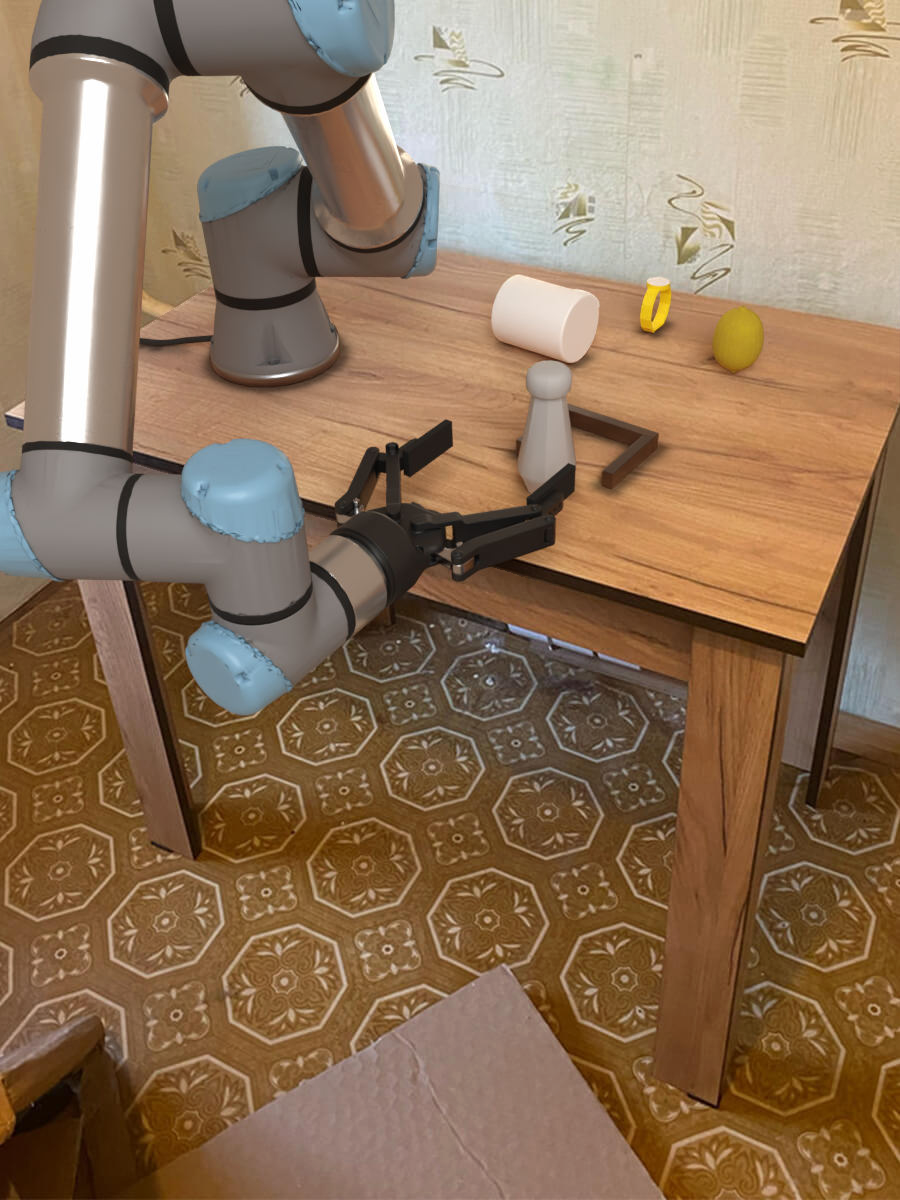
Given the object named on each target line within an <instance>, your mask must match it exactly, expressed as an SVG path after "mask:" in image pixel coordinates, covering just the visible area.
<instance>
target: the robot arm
mask: <svg viewBox="0 0 900 1200" xmlns="http://www.w3.org/2000/svg"><path fill="white" fill-rule="evenodd" d="M395 6H396V5H395V0H41V1H40V4H39V8H38V11H37V16H36V18H35V24H34V27H33V31H32V35H31V43H30V52H29V67H28V85H29V87H30V89H31V91H32V92H33V94H34V95H35V96H36V98H37V99H39V101H40V102H41V103H42V109H41V126H40V127H41V128H40V142H39V143H40V145H39V160H38V161H39V162H38V178H37V193H36V195H37V196H36V211H35V226H34V227H35V229H34V230H35V231H34V243H33V246H34V247H33V261H32V277H31V293H30V294H31V296H30V311H29V312H30V313H29V314H30V315H29V327H28V328H29V329H28V347H27V361H26V363H27V364H26V376H25V377H26V378H25V379H26V381H25V394H24V395H25V396H24V412H23V413H24V414H23V432H22V445H21V455H20V462H19V469H16V468H12V469H11V470H4V471H0V572H2V573H4V574H5V575H6V576H11V577H21V578H22V577H23V578H35V579H48V580H52V581H54V582H65V581H66V580H76V581H77V580H81V581H82V580H83V581H84V580H85V581H127V582H128V581H130V582H132V581H133V582H146V583H147V582H148V583H170V584H171V583H173V584H174V583H175V584H200V585H204V587H205V590H206V596H207V600H208V604H209V608H210V612H211V618H210V620H208V621H205V622H202V623H201V625H200V627H199V628H198V629H197V630H195V632H193V633H192V634H191V635H190V636H189V637H188V640H187V645H186V647H185V650H184V654H185V655H184V656H185V660H186V664H187V667H188V669H189V671H190V673H191V675H192V677H193V679H194V681H195V682H196V684H197V685H198V686H199V688H200V689H201V690H202V691H203V693H204V694H205V695H206V696H207V697H208V698H209V699H210V700H211V701H213V702H214V703H215V704H216V705H218V706H219V707H221V708H223V709H224V710H226V711H227V712H229V713H231V714H234V715H237V716H245V717H246V716H252V715H254V714H257V713H258V712H261V711H262V710H263V709H265V708H266V707H267V706H269V705H271V704H272V703H273V702H275V701H276V700H278V699H279V698H280V697H282V696H283V695H284V694H286V693H290V692H291V691H292V690H293V687H294V686H295V685H297V684H298V683H299V682H300V681H301V680H302V679H304V678H305V677H306V676H307V675H309V674H310V673H311V672H312V671H313V670H315V668H317V667H318V666H319V665H320V664H322V663H323V662H324V661H325V660H326V659H327V658H328V657H330V656H331V655H332V654H333V653H334V652H335V651H337V650H338V649H339V648H340V647H342V646H343V645H344V644H345V643H346V642H347V641H348V640H349V639H351V638H352V637H354V636H355V635H356V634H357V633H359V632H360V631H361V630H362V629H363V628H364V627H366V626H367V625H368V624H370V622H372V621H373V620H374V619H375V618H377V617H378V616H379V615H381V613H382V612H383V611H384V610H385V608H388V607H390V606H392V605H393V604H394V603H395V602H396V601H398V600H399V599H400V598H401V597H402V596H403V595H405V594H406V593H408V591H410V590H411V589H412V588H413V587H414V586H415V585H416V583H417V582H418V581H419V579H420V578H421V576H422V575H423V573H424V572H425V570H428V569H429V568H432V567H436V566H438V565H441V566H442V567H445V568H446V569H448V570H449V571H451V580H453V581H454V582H458V583H460V582H465V581H466V580H467V579H468V578H470V577H472V576H473V575H475V574H476V573H477V572H479V571H482V570H485V569H488V568H490V567H493V566H497V565H499V564H502V563H505V562H508V561H512V560H514V559H517V558H520V557H523V556H526V555H529V554H533V553H535V552H538V551H541V550H544V549H547V548H550V547H552V546H555V544H556V534H557V518H556V516H557V515H559V513H561V512H562V511H563V508H564V502H565V500H566V499H568V498H569V497H570V496H571V495H572V494H573V493H574V492H576V491H575V490H576V471H577V465H576V466H575V465H572V464H570V463H568V464H567V465H565V466H564V467H563V468H562V469H561V470H559V471H558V472H557V473H556V474H555V475H553V476H552V477H551V478H550V479H549V480H547V481H546V482H545V483H544V484H543V485H541V486H540V487H539V488H538V489H537V490H535V491H534V492H533V493H530V495H528V496H527V497H526V504H525V505H519V506H511V507H507V508H506V507H505V508H500V509H494V510H487V511H480V512H475V513H469V514H461V513H460V512H459V511H450V512H443V513H442V512H440V511H437V510H434V509H430V508H426V507H424V506H423V505H421V504H420V503H417V502H415V501H411V502H403V499H402V472H403V476H405V477H407V478H412V477H413V476H414V475H416V474H417V473H418V472H420V471H421V470H423V469H425V467H427V466H428V465H430V464H431V463H432V462H434V461H435V460H437V459H438V458H439V457H440V456H442V455H443V454H445V453H446V452H447V451H449V450H450V449H451V448H453V447H454V437H453V436H454V435H453V433H454V432H453V421H452V420H449V419H446V418H445V419H443V420H442V421H441V422H440V423H438V424H436V425H435V426H434V427H432V428H431V429H430V430H427V431H426V432H425V433H423V434H422V435H421V436H419V437H418V438H417V437H415V438H412V439H409V440H408V441H407V442H405V443H404V444H402V445H401V446H399V444H398V442H394V441H391V442H387V443H385V445H384V446H385V452H382V451H380V448H379V447H377V446H369V447H368V448H366V450H365V452H364V454H363V455H362V458H361V461H360V462H359V465H358V467H357V468H356V471H355V474H354V476H353V478H352V480H351V482H350V484H349V487H348V489H347V490H346V492H345V493H344V494H343V495H342V496H340V498H338V499H337V500H335V502H334V512H335V520H336V528H335V529H334V530H333V531H331V532H330V534H329V535H325V536H324V537H322V538H321V539H320V540H319V541H317V542H316V543H314V544H313V545H312V546H310V547H308V539H307V531H306V525H305V514H306V512H305V508H304V507H303V500H302V499H301V496H300V493H299V489H298V488H299V487H298V484H297V481H296V480H297V479H296V476H295V471H294V467H293V464H292V462H291V460H290V459H289V457H288V456H287V455H286V454H285V452H284V451H283V450H281V448H278V447H277V446H276V445H273V444H272V443H269V442H266V441H263V440H259V439H254V438H233V439H231V440H230V441H228V442H226V443H219V442H214V443H212V444H208V445H206V446H204V447H202V448H201V449H199V450H197V451H196V452H195V453H194V454H192V455H191V456H190V457H189V458H188V459H187V461H186V462H185V463H184V466H183V468H182V471H181V474H176V473H175V474H170V473H169V474H167V473H138V472H137V473H134V472H133V471H134V455H133V454H134V439H135V438H134V436H135V422H136V405H137V404H136V403H137V388H138V373H139V355H140V345H142V346H143V345H144V346H151V347H170V346H171V347H172V346H180V345H185V344H186V345H187V344H199V343H209V355H210V360H211V366H212V368H213V370H214V372H215V373H216V374H217V375H218V376H219V377H221V378H223V379H224V380H227V381H229V382H231V383H234V384H239V385H243V386H247V387H248V386H249V387H262V388H263V387H264V388H265V387H278V386H286V385H291V384H296V383H300V382H303V381H306V380H309V379H312V378H314V377H316V376H318V375H320V374H322V373H323V372H326V371H327V370H328V369H329V368H331V367H332V366H333V365H334V364H335V362H337V360H338V358H339V356H340V343H339V339H341V338H340V337H341V336H340V334H339V331H338V329H337V326H336V324H335V322H334V321H331V318H330V315H329V313H328V311H327V308H326V306H325V304H324V302H323V300H322V298H321V296H320V293H319V291H318V288H317V281H316V278H400V279H401V280H408V279H410V278H419V277H421V278H423V277H427V276H429V275H431V274H432V273H433V272H434V271H435V269H436V267H437V257H438V237H439V236H438V235H439V234H438V233H439V218H440V217H439V215H440V214H439V213H440V191H441V189H440V187H441V186H440V185H441V180H440V178H441V171H440V170H439V168H438V167H437V166H436V165H432V164H426V163H424V162H417V164H416V162H415V160H414V159H413V158H412V156H410V154H409V153H408V152H407V151H406V150H405V149H404V148H402V147H401V146H400V145H398V144H396V139H395V137H394V134H393V131H392V127H391V124H390V121H389V118H388V114H387V111H386V108H385V104H384V102H383V98H382V95H381V91H380V89H379V86H378V82H377V79H376V75H375V73H378V72H379V71H381V69H383V67H384V66H385V65H386V64H387V63H388V61H389V60H390V57H391V55H392V52H393V51H392V50H393V47H394V39H395V31H396V11H395V9H396V8H395ZM183 76H184V77H240V78H241V79H242V81H243V83H244V85H245V86H246V88H247V89H248V91H249V92H250V93H251V95H252V96H254V97H255V99H257V100H258V102H260V103H262V104H263V105H264V106H266V107H267V108H270V109H271V110H273V111H275V112H277V113H280V114H281V117H282V118H283V121H284V122H285V124H286V127H287V129H288V131H289V133H290V135H291V137H292V139H293V141H294V143H295V144H296V147H297V149H298V150H297V149H296V148H294V147H290V146H289V147H286V146H283V145H272V146H262V147H255V148H252V149H248V150H243V151H240V152H236V153H233V154H230V155H228V156H225V157H223V158H220V159H219V160H217V161H215V162H213V163H212V164H210V165H209V166H208V167H206V169H204V170H203V171H202V173H200V175H199V178H198V180H197V184H196V192H197V193H196V194H197V200H198V208H199V213H198V219H199V222H201V228H202V232H203V233H202V234H203V238H204V244H205V249H206V254H207V259H208V264H209V269H210V274H211V281H212V286H213V291H214V297H215V310H214V318H213V319H214V320H213V334H209V335H195V336H185V337H184V336H183V337H178V338H177V337H176V338H170V339H153V338H145V337H141V324H142V323H141V322H142V310H143V309H142V307H143V289H144V274H145V258H146V244H147V243H146V242H147V240H146V239H147V227H148V211H149V210H148V209H149V193H150V192H149V191H150V179H151V178H150V177H151V176H150V175H151V162H152V145H153V144H152V143H153V128H154V124H155V123H157V122H159V121H160V120H161V119H162V118H164V116H165V115H166V114H167V112H168V109H169V98H170V85H171V83H172V82H173V80H175V79H176V78H178V77H183ZM304 163H305V165H304ZM575 470H576V471H575ZM381 474H385V488H386V489H385V506H381V507H377V508H371V509H367V508H368V505H369V504H370V500H371V498H372V496H373V493H374V491H375V489H376V486H377V484H378V482H379V479H380V477H381ZM447 527H451V531H452V532H451V533H452V534H451V535H452V538H451V540H447Z"/></svg>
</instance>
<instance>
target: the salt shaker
mask: <svg viewBox="0 0 900 1200" xmlns="http://www.w3.org/2000/svg"><path fill="white" fill-rule="evenodd" d="M572 383H573V372H572V370H571V369H570V367H569V366H568V365H567V364H565V363H564V362H562V361H560V360H550V359H549V360H541V361H538V362H535V363H534V364H532V365H531V366H530V367H529V368H527V370H526V375H525V388H526V391H527V392H528V394H530V396H531V397H530V401H529V406H528V409H527V414H526V419H525V424H524V429H523V434H522V435H523V438H522V442H521V447H520V452H519V455H518V457H517V463H516V469H517V473H518V474H519V475H520V477H521V479H522V480H523V482H524V485H525V487H526V489H527V491H528V493H530V494H532V493H533V492H534V491H535V490H537V489H538V488H539V487H540V486H541V485H543V484H544V483H545V482H546V481H547V480H549V479H550V478H551V477H552V476H553V475H555V474H556V473H557V472H558V471H559V470H561V469H562V468H563V467H564V466H565V465H567V464H568V463H570V464H572V465H575V466H576V467H577V457H576V450H575V443H574V438H573V431H572V426H571V424H570V417H569V411H568V404H569V403H568V398H567V395H568V394H569V393H570V392H571V391H572V385H573V384H572ZM567 403H568V404H567ZM576 471H577V469H576V470H575V472H576Z"/></svg>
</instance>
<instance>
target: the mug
mask: <svg viewBox="0 0 900 1200" xmlns="http://www.w3.org/2000/svg"><path fill="white" fill-rule="evenodd" d="M600 308H601V303H600V301H599V299H598V298H597V296H596V295H594V294H593V293H591V292H589V291H587V290H583V289H578V288H569V287H566V286H562V285H558V284H555V283H552V282H548V281H545V280H541V279H538V278H533V277H531V276H527V275H523V274H514V275H512V276H510V277H508V279H506V280H505V281H504V282H503V284H502V285H501V286H500V288H499V289H498V291H497V293H496V296H495V297H494V301H493V304H492V309H491V316H490V317H491V318H490V320H491V321H490V325H491V330H492V332H493V335H494V336H495V338H496V339H497V340H498V341H499V342H502V343H505V344H508V345H511V346H515V347H518V348H520V349H524V350H526V351H530V352H533V353H535V354H539V355H542V356H545V357H548V358H551V359H555V360H556V361H560V362H563V363H568V364H573V363H574V364H575V363H577V362H579V361H580V360H581V359H582V358H583V357H585V355H586V354H587V352H588V351H589V349H590V348H591V347H592V344H593V342H594V340H595V337H596V334H597V330H598V326H599V321H600V320H599V319H600Z"/></svg>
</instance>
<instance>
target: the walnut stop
mask: <svg viewBox="0 0 900 1200" xmlns="http://www.w3.org/2000/svg"><path fill="white" fill-rule="evenodd" d="M567 404H568V411H569V417H570V424H571V427H575V428H578V429H581V430H583V431H587V432H590V433H592V434H595V435H598V436H602V437H604V438H607V439H610V440H613V441H616V442H619V443H622V444H625V445H628V446H629V447H627V448H626V449H625V450H624V451H623V452H622V453H621V454H619V456H617V457H616V458H615V459H614V460H613V461H612V462H611V463H609V464H608V465H607V466H606V467H605V468H604V469H602V474H601V475H602V476H601V486H602V487H604V488H608V489H610V490H613V489H614V488H615V487H616V486H618V484H619V483H620V482H621V481H623V480H624V479H625V478H626V477H627V476H628V475H629V474H630V473H632V471H633V470H635V469H636V468H637V467H638V466H639V465H640V464H641V463H642V462H644V460H646V459H647V458H648V457H649V456H650V455H651V454H652V453H654V451H656V450H657V449H658V446H659V437H660V433H659V432H657V431H653V430H651V429H649V428H645V427H641V426H639V425H635V424H633V423H629V422H626V421H623V420H620V419H617V418H613V417H611V416H608V415H605V414H601V413H598V412H596V411H592V410H590V409H587V408H583V407H580V406H577V405H574V404H571V403H568V402H567ZM522 438H523V434H522V435H521V436H519V437H518V438H516V440H515V453H516V456H519V452H520V447H521V442H522Z"/></svg>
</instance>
